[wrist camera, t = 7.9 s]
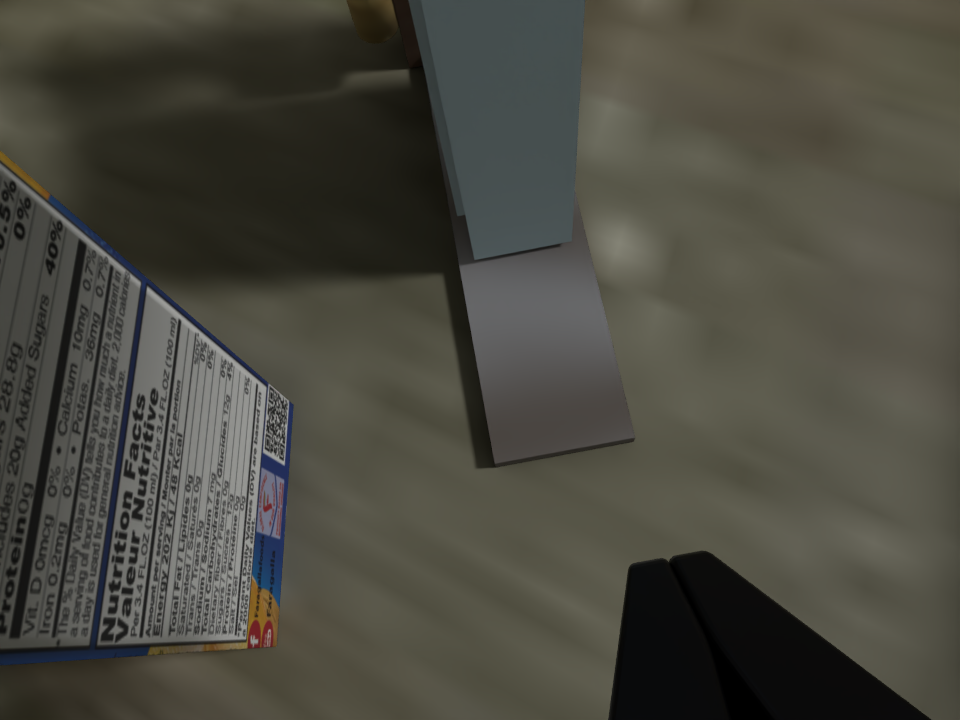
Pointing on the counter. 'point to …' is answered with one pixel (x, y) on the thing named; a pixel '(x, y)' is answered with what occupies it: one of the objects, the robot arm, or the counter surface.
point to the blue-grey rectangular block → (506, 114)
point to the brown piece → (528, 319)
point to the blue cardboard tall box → (126, 457)
